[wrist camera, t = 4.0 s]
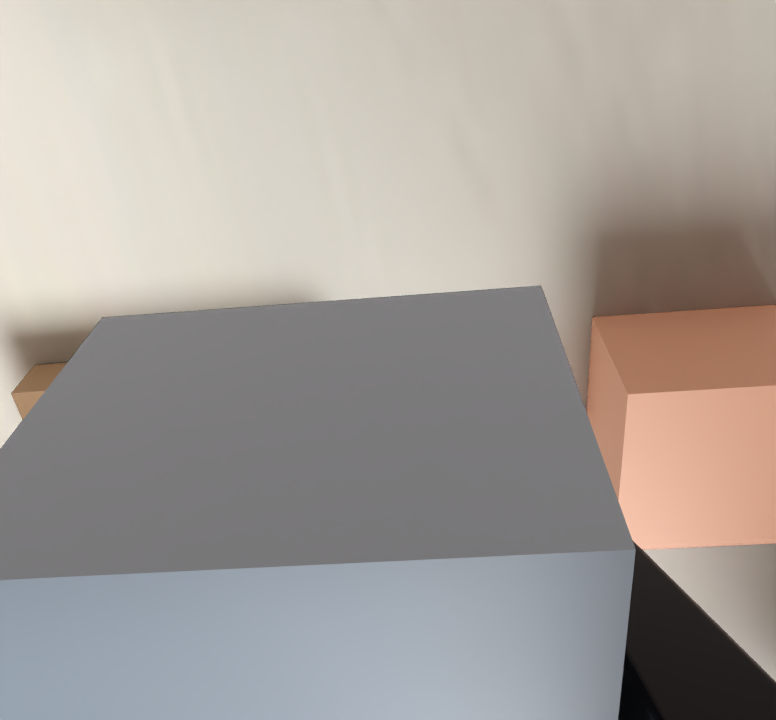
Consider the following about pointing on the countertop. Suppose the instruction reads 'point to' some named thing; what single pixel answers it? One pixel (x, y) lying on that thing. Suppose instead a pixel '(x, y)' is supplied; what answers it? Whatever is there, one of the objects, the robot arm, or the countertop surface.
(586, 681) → the slate brick
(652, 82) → the countertop surface
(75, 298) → the countertop surface
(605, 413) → the terracotta brick
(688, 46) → the countertop surface
